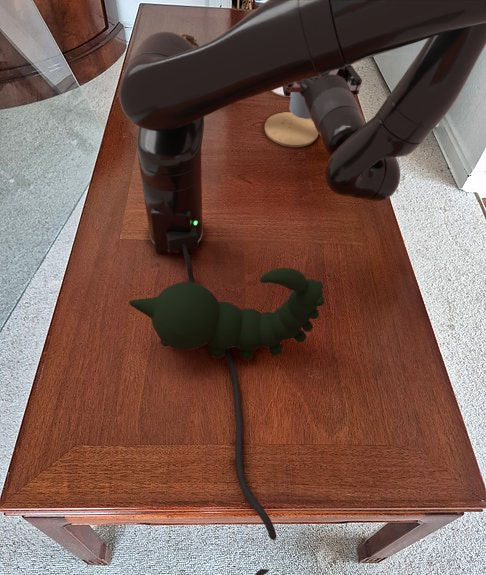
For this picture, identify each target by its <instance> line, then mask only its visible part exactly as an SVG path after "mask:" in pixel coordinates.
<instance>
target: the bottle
mask: <svg viewBox="0 0 486 575" xmlns="http://www.w3.org/2000/svg"><path fill="white" fill-rule="evenodd" d="M328 73H329V72H328ZM288 109H289V112H291V113H292V114H293V115H295V116H297V117H299V118H304V119H311V116H310V113H309V111H308V108H307V106H306V102H305V98H304V97H303V96H302V95H301V94H300V93H299V92H292V93H291V97H290V101H289V105H288Z"/></svg>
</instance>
